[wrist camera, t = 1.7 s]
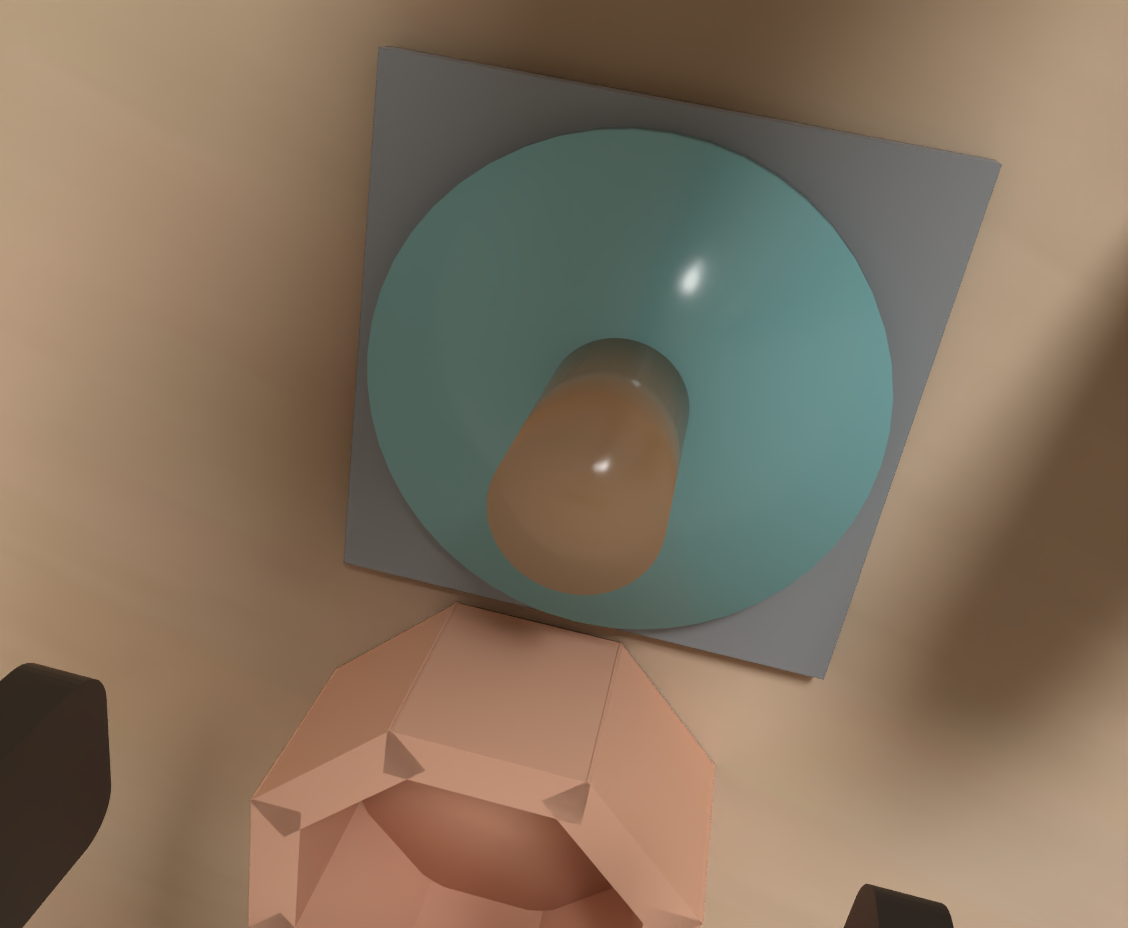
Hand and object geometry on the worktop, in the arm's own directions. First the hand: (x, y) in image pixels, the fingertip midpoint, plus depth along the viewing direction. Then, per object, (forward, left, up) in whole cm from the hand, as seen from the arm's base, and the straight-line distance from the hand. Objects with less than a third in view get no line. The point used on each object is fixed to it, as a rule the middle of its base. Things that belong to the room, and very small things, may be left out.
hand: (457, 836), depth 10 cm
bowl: (+12, -1, -13) cm, 18 cm away
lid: (0, 0, -13) cm, 13 cm away
